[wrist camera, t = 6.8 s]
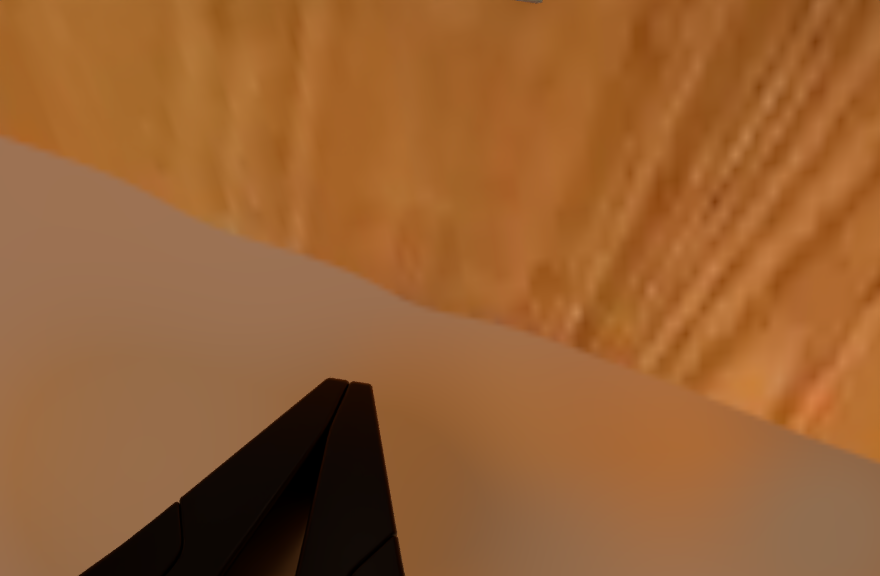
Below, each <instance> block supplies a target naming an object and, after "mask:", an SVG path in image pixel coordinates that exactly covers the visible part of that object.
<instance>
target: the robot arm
mask: <svg viewBox="0 0 880 576" xmlns="http://www.w3.org/2000/svg"><path fill="white" fill-rule="evenodd" d="M179 502H180V504H179V503H178V502H175V503H174V504H173V505H171V506H170V507H169V508H167V509H166V510H165V511H164V512H163V513H161V514H160V515H159V516H158V517H156V518H155V519H154V520H153V521H152V522H150V523H149V524H148V525H146V526H145V527H144V528H142V529H141V530H140V531H138V532H137V533H136V534H135V535H133V536H132V537H131V538H130V539H128V540H127V541H126V542H124V543H123V544H122V545H121V546H119V547H118V548H116V549H115V550H113V551H112V552H111V553H110V554H108V555H107V556H105V557H104V558H102V559H101V560H100V561H98V562H97V563H95V564H94V565H93V566H91V567H90V568H88V569H87V570H86V571H84V572H83V573H82V574H80V575H79V576H405V573H404V568H403V563H402V559H401V553H400V547H399V541H398V537H397V530H396V524H395V519H394V513H393V507H392V501H391V495H390V489H389V483H388V477H387V471H386V465H385V460H384V454H383V448H382V442H381V436H380V430H379V424H378V419H377V413H376V406H375V401H374V395H373V389H372V386H371V385H370V384H368V383H361V382H355V381H353V382H351V383H350V384H349V382H348V381H347V380H342V379H335V378H328V379H326V380H324V381H323V382H322V383H321V384H319V385H318V386H317V387H316V388H315V389H313V390H312V391H311V392H310V393H308V394H307V395H306V396H305V397H303V398H302V399H301V400H300V401H299V402H297V403H296V404H295V405H294V406H293V407H291V408H290V409H289V410H288V411H286V412H285V413H284V414H283V415H282V416H280V417H279V418H278V419H277V420H275V421H274V422H273V423H272V424H270V425H269V426H268V427H267V428H266V429H264V430H263V431H262V432H261V433H260V434H259V435H257V436H256V437H255V438H253V439H252V440H251V441H250V442H248V443H247V444H246V445H245V446H244V447H242V448H241V449H240V450H239V451H238V452H236V453H235V454H234V455H233V456H231V457H230V458H229V459H228V460H226V461H225V462H224V463H223V464H222V465H220V466H219V467H218V468H217V469H215V470H214V471H213V472H212V473H211V474H209V475H208V476H207V477H206V478H205V479H203V480H202V481H201V482H200V483H199V484H197V485H196V486H195V487H194V488H192V489H191V490H190V491H188V492H187V493H186V494H185V495H184V496H182V497H181V498H180V501H179Z"/></svg>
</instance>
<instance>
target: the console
mask: <svg viewBox="0 0 880 576" xmlns="http://www.w3.org/2000/svg"><path fill="white" fill-rule="evenodd" d="M517 1H524V2H530V3H542V0H517Z"/></svg>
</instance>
